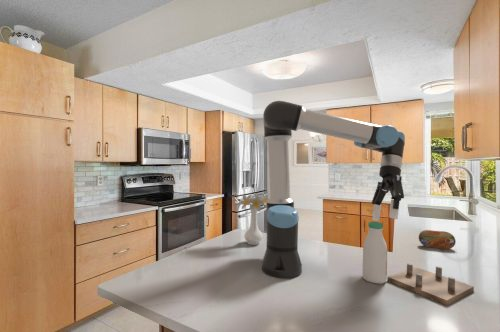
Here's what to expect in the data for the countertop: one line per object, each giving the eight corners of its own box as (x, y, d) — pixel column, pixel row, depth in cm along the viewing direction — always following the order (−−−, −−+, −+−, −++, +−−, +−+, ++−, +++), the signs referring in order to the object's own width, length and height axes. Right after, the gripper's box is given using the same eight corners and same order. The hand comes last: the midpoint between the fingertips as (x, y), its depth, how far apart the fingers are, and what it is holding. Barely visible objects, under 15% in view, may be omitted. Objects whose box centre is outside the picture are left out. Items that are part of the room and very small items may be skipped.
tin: (419, 246, 132) (419, 229, 132) (417, 244, 135) (418, 228, 135) (455, 250, 127) (456, 233, 127) (453, 248, 130) (453, 231, 130)
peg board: (387, 280, 92) (387, 266, 92) (415, 270, 101) (415, 257, 101) (446, 305, 77) (447, 288, 76) (473, 291, 86) (474, 275, 86)
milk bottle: (385, 286, 88) (386, 226, 87) (360, 280, 92) (361, 223, 92) (387, 278, 94) (388, 222, 94) (364, 273, 98) (365, 219, 98)
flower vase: (232, 240, 137) (233, 191, 136) (267, 239, 140) (268, 191, 140) (235, 248, 124) (236, 195, 123) (273, 246, 127) (274, 194, 127)
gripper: (419, 161, 95) (413, 219, 89) (384, 177, 119) (378, 223, 113) (398, 156, 95) (390, 214, 90) (367, 172, 119) (360, 219, 114)
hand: (383, 219), depth 101 cm, fingers open, 13 cm apart
